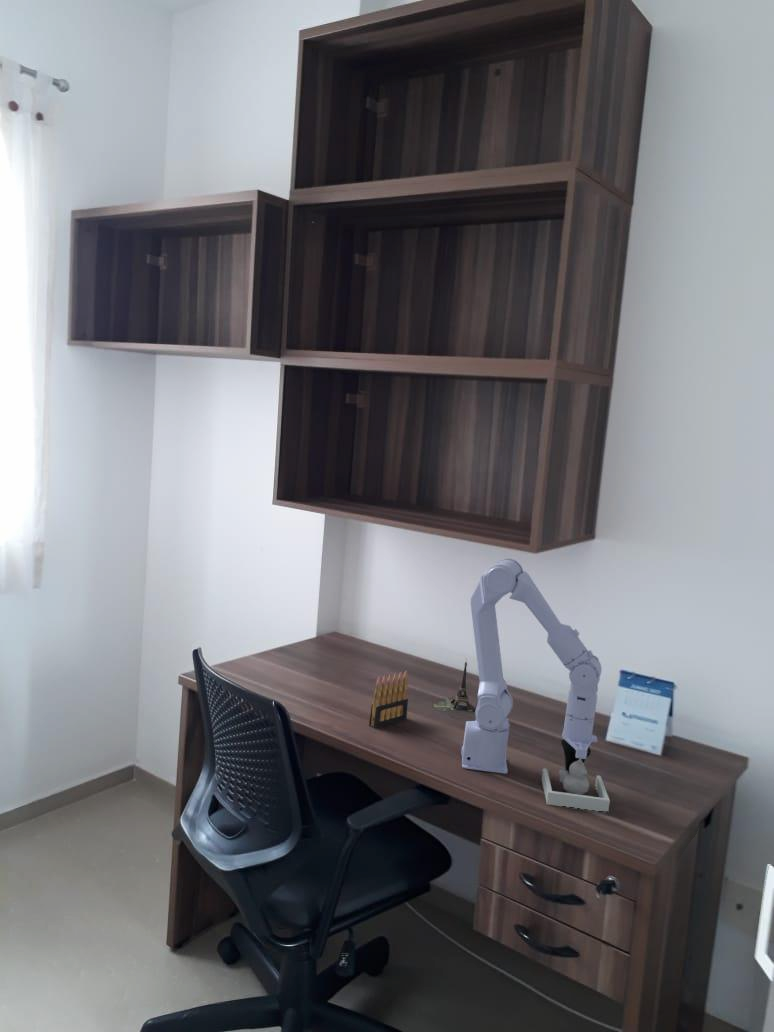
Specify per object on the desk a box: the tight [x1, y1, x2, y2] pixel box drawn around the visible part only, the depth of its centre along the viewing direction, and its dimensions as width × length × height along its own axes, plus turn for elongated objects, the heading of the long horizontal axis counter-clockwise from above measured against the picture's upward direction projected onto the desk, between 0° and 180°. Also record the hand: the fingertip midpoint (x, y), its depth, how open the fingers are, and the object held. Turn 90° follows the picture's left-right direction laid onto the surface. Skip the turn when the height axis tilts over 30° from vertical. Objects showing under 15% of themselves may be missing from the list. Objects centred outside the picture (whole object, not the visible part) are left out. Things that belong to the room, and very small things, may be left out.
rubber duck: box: [558, 758, 590, 795], centre depth 164 cm, size 5×7×8 cm
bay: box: [541, 767, 611, 812], centre depth 163 cm, size 12×11×2 cm
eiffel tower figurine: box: [433, 658, 473, 719], centre depth 206 cm, size 15×10×13 cm
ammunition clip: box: [368, 670, 409, 729], centre depth 191 cm, size 11×2×12 cm, turn 134°
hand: (571, 777), depth 168 cm, fingers closed
